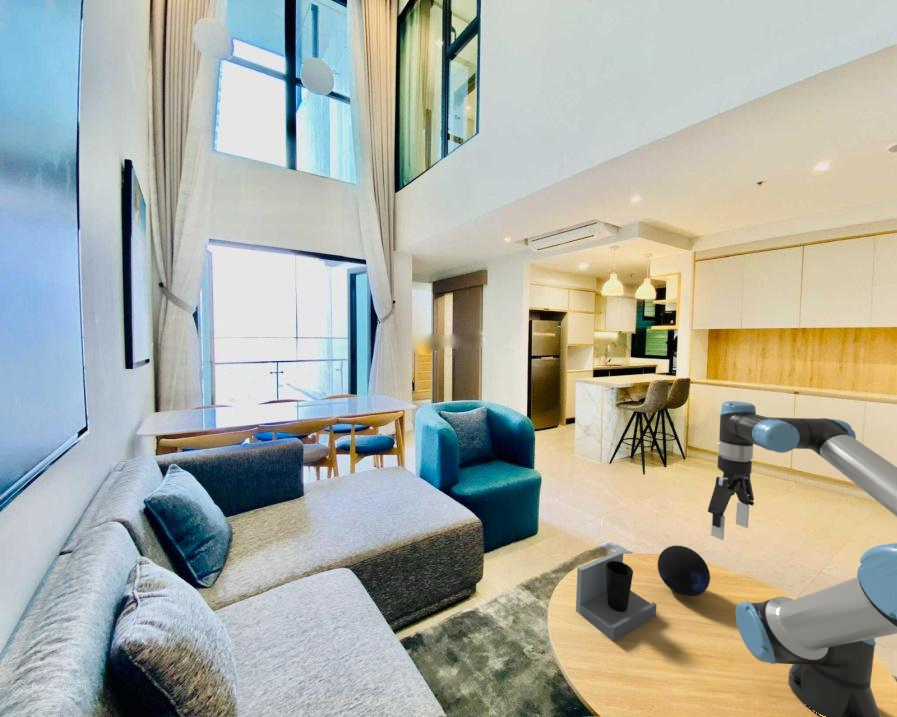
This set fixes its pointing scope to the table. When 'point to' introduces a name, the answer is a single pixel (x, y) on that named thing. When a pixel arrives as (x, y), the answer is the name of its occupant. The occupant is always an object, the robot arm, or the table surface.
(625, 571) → the cup
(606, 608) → the shelf
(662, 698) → the table surface
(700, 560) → the decorative sphere
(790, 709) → the table surface
